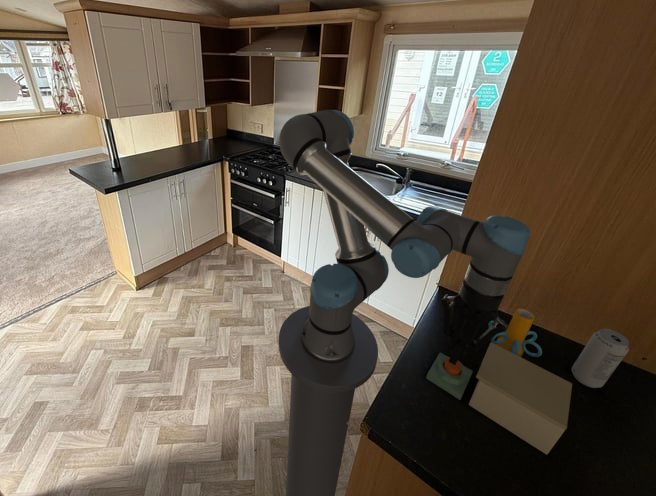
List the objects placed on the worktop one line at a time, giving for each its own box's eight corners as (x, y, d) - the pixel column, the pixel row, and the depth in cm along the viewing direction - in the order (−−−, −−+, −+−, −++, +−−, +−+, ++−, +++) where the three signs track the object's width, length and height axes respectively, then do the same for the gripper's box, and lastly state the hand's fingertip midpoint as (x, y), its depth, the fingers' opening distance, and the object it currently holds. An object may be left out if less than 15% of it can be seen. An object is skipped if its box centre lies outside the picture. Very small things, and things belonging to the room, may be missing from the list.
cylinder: (496, 373, 80) (517, 331, 74) (472, 339, 90) (488, 300, 83) (542, 371, 81) (567, 329, 74) (513, 338, 90) (532, 299, 83)
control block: (425, 378, 79) (428, 369, 77) (438, 356, 85) (441, 347, 83) (460, 400, 74) (464, 391, 72) (471, 375, 80) (475, 366, 78)
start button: (441, 368, 78) (443, 364, 77) (446, 359, 80) (448, 355, 80) (457, 378, 76) (459, 373, 75) (461, 368, 78) (463, 364, 77)
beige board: (475, 377, 70) (476, 375, 69) (489, 344, 78) (490, 341, 77) (565, 430, 60) (566, 427, 60) (570, 385, 68) (572, 383, 68)
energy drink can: (586, 368, 82) (614, 326, 75) (608, 390, 76) (640, 347, 70) (563, 367, 82) (589, 326, 75) (584, 390, 76) (613, 347, 70)
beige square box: (468, 404, 73) (479, 380, 69) (482, 370, 81) (493, 346, 77) (547, 455, 64) (565, 430, 60) (554, 410, 72) (570, 386, 68)
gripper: (524, 292, 65) (487, 367, 75) (456, 264, 73) (431, 336, 83) (517, 311, 60) (479, 388, 70) (445, 279, 68) (420, 353, 79)
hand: (453, 359), depth 77 cm, fingers closed
